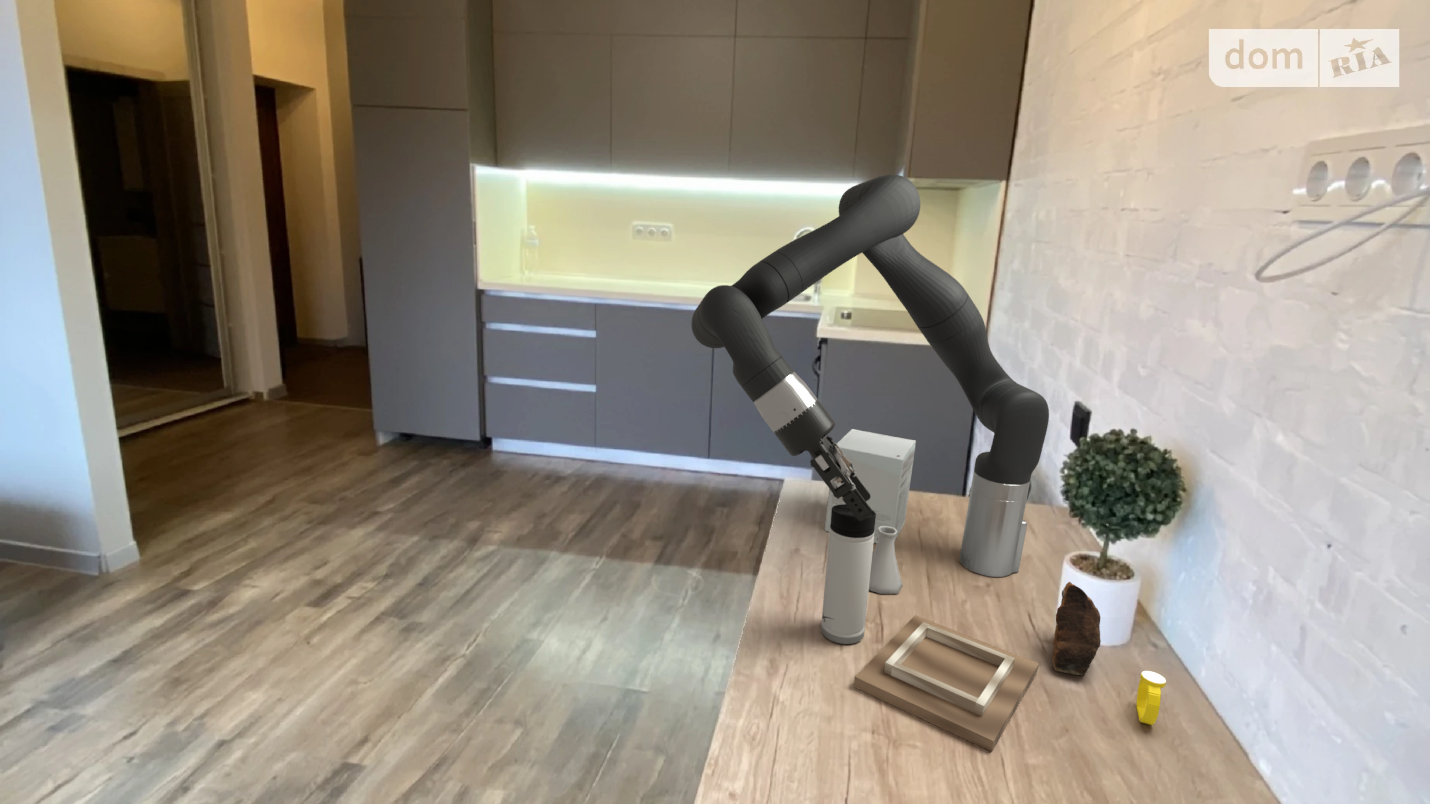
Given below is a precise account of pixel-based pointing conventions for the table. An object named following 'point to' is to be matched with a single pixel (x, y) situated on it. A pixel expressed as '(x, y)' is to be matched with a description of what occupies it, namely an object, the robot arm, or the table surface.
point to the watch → (1149, 696)
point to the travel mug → (847, 575)
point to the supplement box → (879, 475)
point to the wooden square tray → (949, 680)
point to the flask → (885, 564)
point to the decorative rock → (1075, 632)
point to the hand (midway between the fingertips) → (866, 508)
